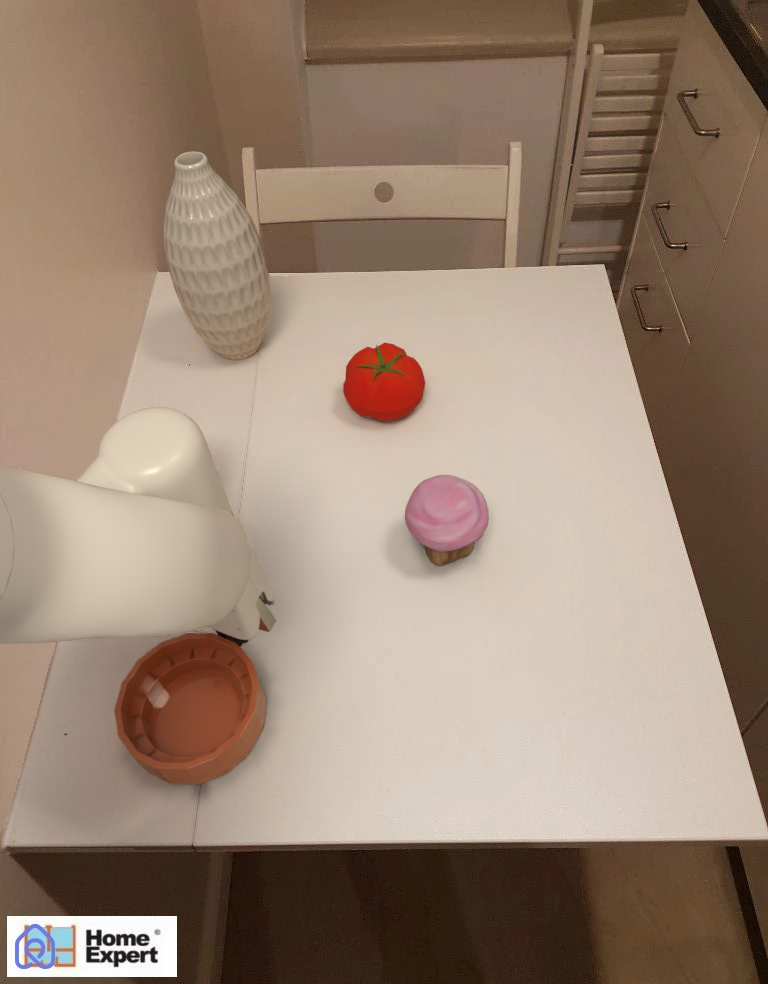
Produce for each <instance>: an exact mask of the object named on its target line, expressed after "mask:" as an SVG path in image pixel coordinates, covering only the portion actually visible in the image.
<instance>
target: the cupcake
mask: <svg viewBox="0 0 768 984" xmlns="http://www.w3.org/2000/svg"><path fill="white" fill-rule="evenodd" d="M409 496H410V497H409V499H408V501H407V503H406V506H405V510H404V521H405V525H406V527H407V529H408V531H409V532H410V534H411V535H412V537H414V538H415V539H416V540H417V541H418V542H419V543H420V544H422V545H423V547H424V550H425V552H426V555H427V557H428V558H429V560H430V563H431V564H432V565H436V566H437V567H438V566H440V567H441V566H444V565H447V564H449V563H453V562H454V561H456V560H458V559H460V558H465V557H468V556H470V555H471V554H472V553H473V551H474V548H475V544H476V542H477V541H479V540H480V539H481V537H482V536H483V535H484V533H485V532H486V530H487V528H488V526H489V520H490V514H489V506H488V502H487V500H486V498H485V496H484V494H483V492H482V491H481V490H480V489H479V488H478V487H477V486H476V485H475V484H474V483H472V482H471V481H468V480H466V479H464V478H462V477H459V476H456V475H452V474H438V475H434V476H431V477H429V478H426V479H423V480H422V481H420V482H419V483H418V485H416V487H415V488H414V489H413V491H412V492H411V494H410V495H409Z"/></svg>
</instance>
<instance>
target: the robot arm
mask: <svg viewBox="0 0 768 984" xmlns="http://www.w3.org/2000/svg"><path fill="white" fill-rule="evenodd" d="M97 451H98V453H97V456H96V458H95V459H94V460H93V462H91V464H90V465H89V466H88V467H87V468H86V470H85V471H84V472H83V473H82V474H81V475H80V476H79V477H78V478H77V479H76V480H75V479H70V478H65V477H60V476H55V475H51V474H46V473H40V472H37V471H31V470H27V469H20V468H13V467H10V466H9V467H8V466H3V465H0V645H1V644H3V645H5V644H6V645H8V644H9V645H11V644H12V645H13V644H14V645H15V644H16V645H17V644H43V643H44V644H45V643H46V644H47V643H48V644H49V643H59V642H69V641H70V642H71V641H81V640H83V641H84V640H95V639H112V638H113V639H114V638H137V637H139V638H140V637H154V636H155V637H156V636H169V635H178V634H186V633H190V632H193V631H197V630H201V629H205V628H210V629H212V630H214V631H215V634H216V635H219V636H221V637H224V638H226V639H228V640H231V641H233V642H235V643H237V644H238V645H239V647H240V648H241V649H242V646H243V644H247V643H248V642H249V641H250V640H252V639H254V637H255V636H256V634H257V633H258V632H259V631H263V632H266V633H271V631H272V629H273V627H274V626H275V624H276V622H277V619H276V618H275V616H274V615H273V614H272V612H271V610H270V609H269V608H268V606H272V605H274V603H275V598H274V593H273V590H272V587H271V584H270V582H269V580H268V577H267V575H266V572H265V571H264V568H263V567H262V565H261V563H260V562H259V559H258V558H257V556H256V554H255V553H254V552H253V549H252V548H251V547H250V542H249V539H248V536H247V533H246V531H245V529H244V527H243V526H242V523H241V522H240V521H239V519H238V518H237V517H236V516H235V515H234V512H233V510H232V507H231V504H230V501H229V498H228V496H227V494H226V490H225V488H224V486H223V482H222V480H221V478H220V474H219V472H218V469H217V466H216V464H215V461H214V459H213V455H212V453H211V451H210V448H209V445H208V441H207V440H206V438H205V435H204V433H203V431H202V429H201V427H200V426H199V425H198V423H197V422H196V421H195V420H194V419H193V418H192V417H191V416H189V415H187V414H186V413H185V412H183V411H180V410H178V409H175V408H170V407H165V406H154V407H153V406H152V407H147V408H142V409H138V410H135V411H133V412H130V413H128V414H127V415H124V416H123V417H121V418H119V419H118V420H117V421H116V422H115V423H113V424H112V425H111V426H110V427H109V428H108V429H107V430H106V432H105V434H104V435H103V437H102V439H101V441H100V444H99V447H98V450H97Z"/></svg>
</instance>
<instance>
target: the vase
mask: <svg viewBox="0 0 768 984" xmlns="http://www.w3.org/2000/svg"><path fill="white" fill-rule="evenodd" d="M173 164H174V173H175V174H174V178H173V180H172V184H171V186H170V187H171V188H170V191H169V194H168V197H167V200H166V203H165V209H164V217H163V227H162V229H163V247H164V254H165V260H166V264H167V267H168V272H169V275H170V276H169V277H170V280H171V282H172V286H173V288H174V292H175V294H176V296H177V298H178V301H179V304H180V306H181V309H182V310H183V312H184V314H185V316H186V317H187V320H188V321H189V323H190V324H191V326H192V328H193V329H194V330H195V331H196V333H197V335H199V338H201V339H202V340H203V341H204V343H206V344H207V346H208V347H210V348H211V349H212V350H213V351H215V352H216V353H217V354H219V355H220V356H222V357H224V358H225V359H228V360H233V361H234V360H235V361H237V360H243V359H246V358H249V357H251V356H252V355H254V354H255V353H256V352H257V351H258V350H259V348H260V345H261V344H262V343H263V340H264V338H265V335H266V333H267V329H268V326H269V325H268V324H269V321H270V313H271V283H270V275H269V269H268V264H267V260H266V255H265V251H264V247H263V243H262V240H261V237H260V235H259V232H258V229H257V226H256V223H255V222H254V220H253V218H252V216H251V214H250V212H249V211H248V209H247V207H246V206H245V204H244V203H243V201H242V200H241V198H240V196H238V195H237V193H236V191H234V190H233V188H232V187H231V186H229V184H228V183H227V182H226V181H225V180H224V179H223V178H222V177H221V176H220V175H219V174H218V173H217V172H216V171H215V170H214V169H213V167H212V166H211V164H210V162H209V160H208V157H207V156H206V154H205V153H203V152H201V151H186V152H183V153H181V154H179V155H178V156H176V158H175V159H174V162H173Z"/></svg>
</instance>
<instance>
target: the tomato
mask: <svg viewBox="0 0 768 984" xmlns="http://www.w3.org/2000/svg"><path fill="white" fill-rule="evenodd" d="M342 385H343V387H342V392H343V396H344V398H345V400H346V402H347V404H348V405H349V407H350V408H351V410H353V411H354V412H355V413H356V414H357V415H359V416H361V417H364V418H373V419H376V420H377V421H381V422H390V421H391V422H392V421H397V420H399V419H401V418H405V417H406V416H408V415H409V414H410V413H412V412H413V411H414V410H415V409H416V408H417V407H418V406H419V404H420V403H421V401H423V397H424V392H425V387H426V380H425V375H424V371H423V368H422V366H421V365H420V363H419V362H418V361H417V359H415V357H413V356H410V355H408V354H407V351H406V350H405V349H404V348H402V347H401V346H397V345H396V344H394V343H390V342H389V343H388V342H383V343H381V344H380V345H377V344H376V345H375V347H371V346H366V347H364V348H362V349H360V350H359V351H357V352H356V353H354V354H353V356H352V357H351V358H350V360H349V361H348V362H347V364H346V366H345V380H344V382H343V384H342Z"/></svg>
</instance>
